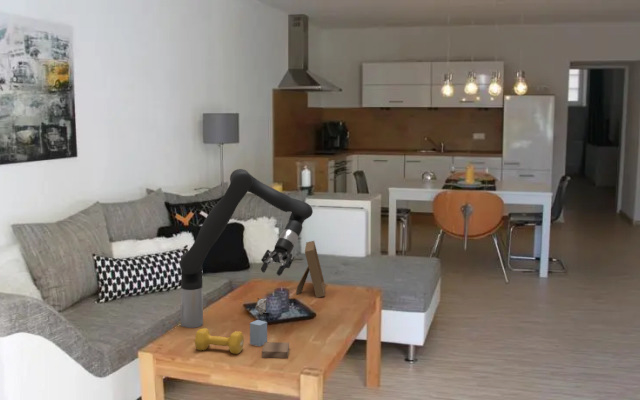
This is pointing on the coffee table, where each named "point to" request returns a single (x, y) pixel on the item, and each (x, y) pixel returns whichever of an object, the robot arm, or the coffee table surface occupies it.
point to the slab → (275, 350)
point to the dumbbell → (219, 340)
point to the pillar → (258, 333)
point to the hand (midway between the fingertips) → (270, 273)
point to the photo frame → (312, 271)
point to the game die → (261, 306)
